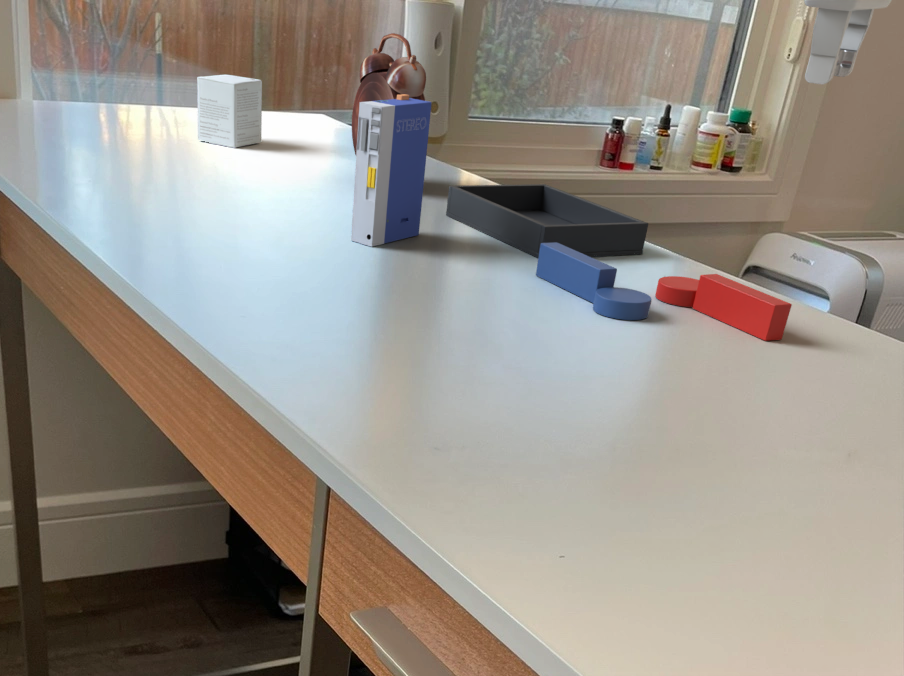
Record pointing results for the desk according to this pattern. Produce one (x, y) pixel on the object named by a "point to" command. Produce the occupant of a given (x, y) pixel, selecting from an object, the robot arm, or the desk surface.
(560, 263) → the blue spoon
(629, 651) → the desk surface
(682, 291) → the red spoon
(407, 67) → the alarm clock
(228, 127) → the product box
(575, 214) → the tray
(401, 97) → the walkman
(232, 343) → the desk surface
